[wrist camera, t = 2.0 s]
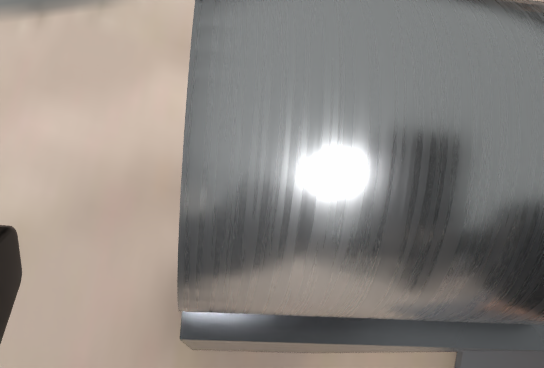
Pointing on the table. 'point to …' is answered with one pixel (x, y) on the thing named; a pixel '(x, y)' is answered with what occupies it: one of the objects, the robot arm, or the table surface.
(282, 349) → the grey block
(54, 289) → the table surface
